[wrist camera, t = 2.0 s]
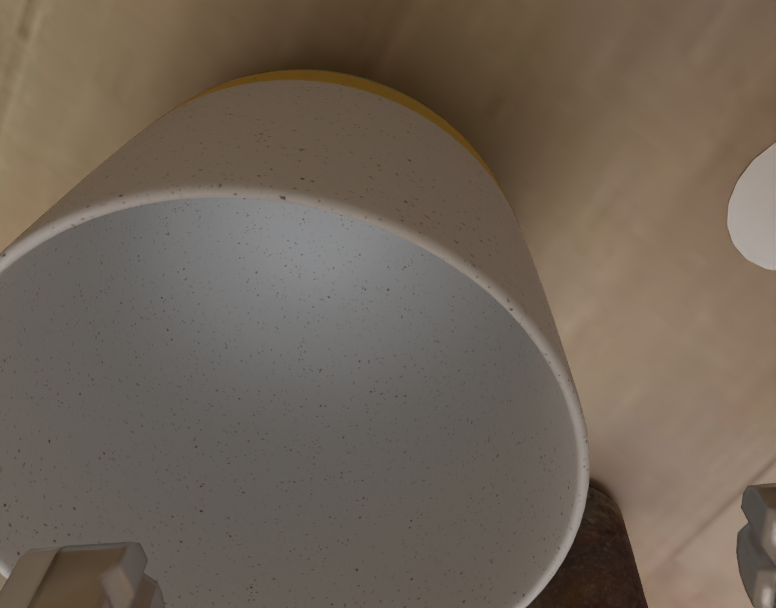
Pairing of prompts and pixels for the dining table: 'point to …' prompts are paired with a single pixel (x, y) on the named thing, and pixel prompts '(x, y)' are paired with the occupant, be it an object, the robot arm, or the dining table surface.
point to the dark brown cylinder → (596, 564)
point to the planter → (291, 361)
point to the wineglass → (755, 211)
